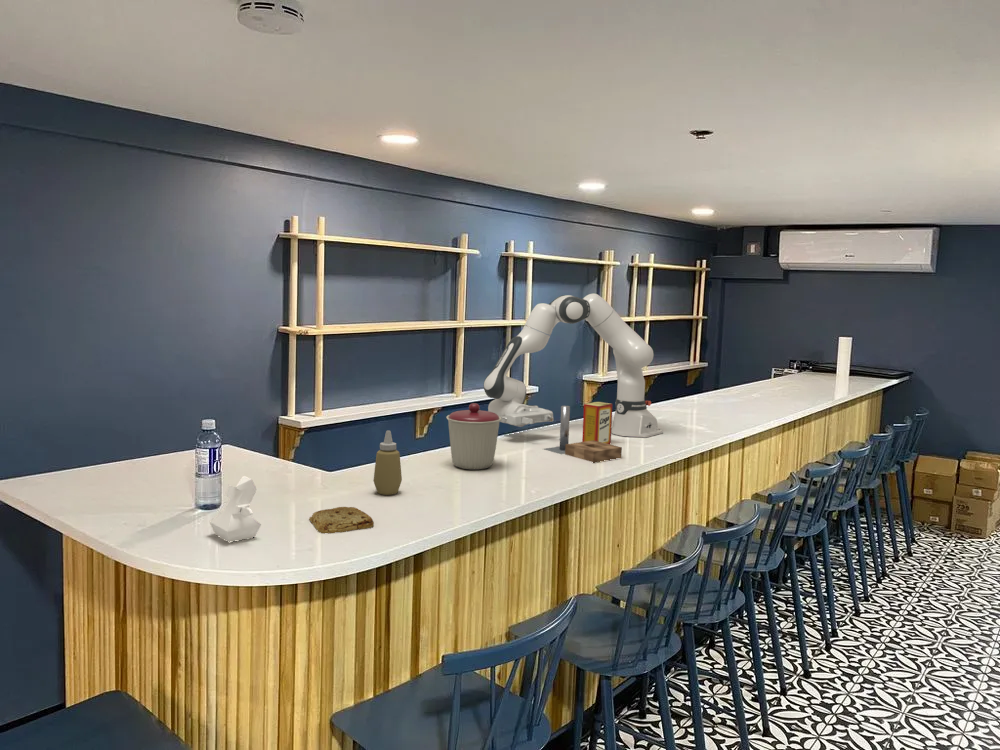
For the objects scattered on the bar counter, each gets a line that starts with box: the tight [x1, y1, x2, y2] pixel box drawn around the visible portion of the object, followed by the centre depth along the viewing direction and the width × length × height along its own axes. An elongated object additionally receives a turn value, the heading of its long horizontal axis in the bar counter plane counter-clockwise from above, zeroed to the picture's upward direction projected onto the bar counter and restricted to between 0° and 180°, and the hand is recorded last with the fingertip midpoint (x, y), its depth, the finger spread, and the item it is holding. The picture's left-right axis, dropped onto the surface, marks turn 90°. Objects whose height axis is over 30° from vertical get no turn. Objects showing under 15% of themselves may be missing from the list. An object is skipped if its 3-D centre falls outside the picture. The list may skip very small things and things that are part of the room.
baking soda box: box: [581, 401, 613, 445], centre depth 302 cm, size 10×6×16 cm
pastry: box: [308, 506, 375, 534], centre depth 197 cm, size 17×17×3 cm
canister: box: [445, 402, 502, 471], centre depth 260 cm, size 18×18×21 cm
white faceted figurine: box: [209, 475, 262, 542], centre depth 184 cm, size 8×14×14 cm, turn 44°
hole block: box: [564, 440, 622, 464], centre depth 281 cm, size 14×14×4 cm
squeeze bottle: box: [373, 430, 403, 496], centre depth 225 cm, size 8×8×18 cm
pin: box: [559, 405, 571, 451], centre depth 289 cm, size 3×3×16 cm
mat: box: [543, 445, 565, 455], centre depth 290 cm, size 12×10×1 cm
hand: (542, 420), depth 298 cm, fingers open, 8 cm apart
